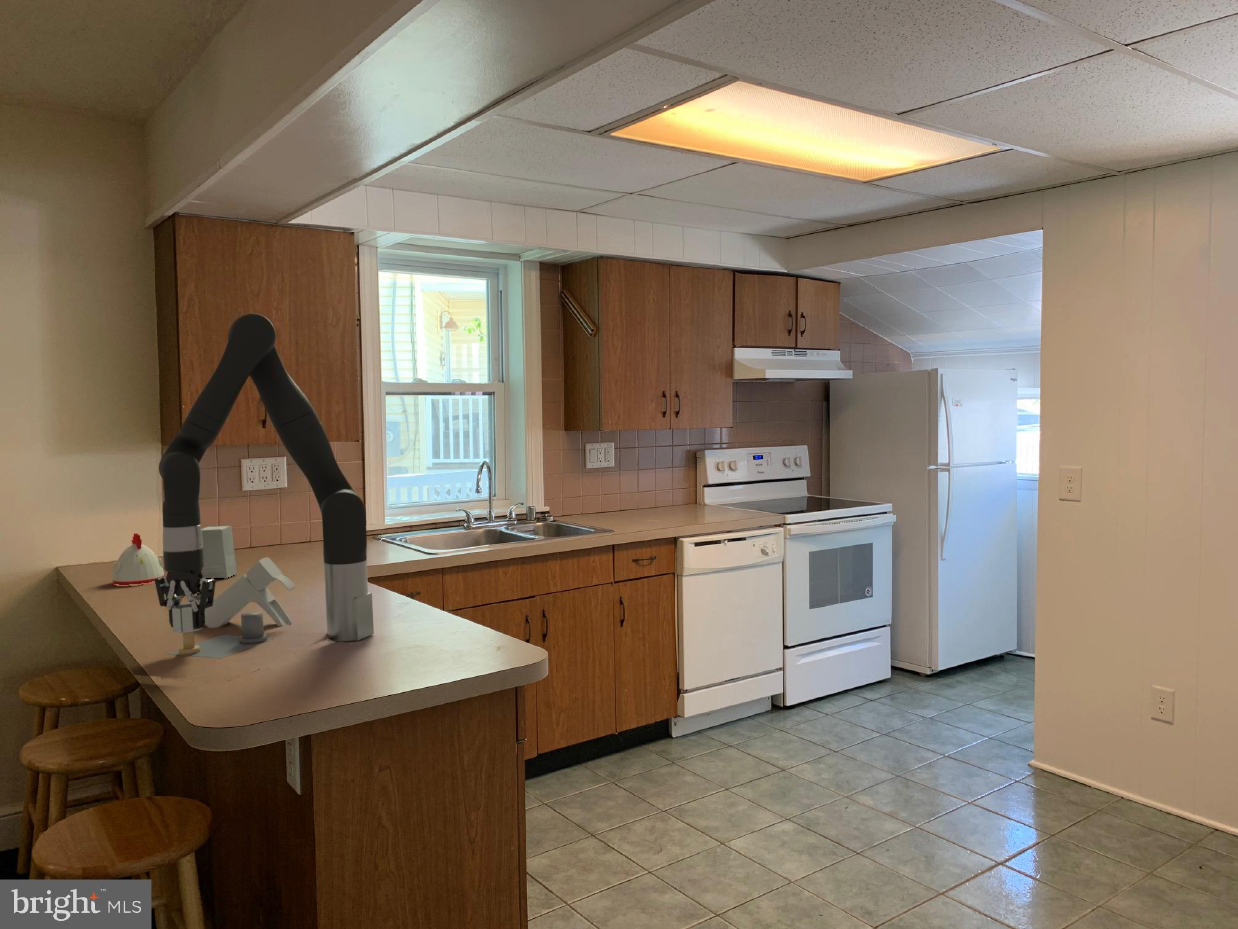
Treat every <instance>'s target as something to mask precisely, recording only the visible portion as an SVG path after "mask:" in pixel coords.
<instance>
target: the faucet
mask: <svg viewBox="0 0 1238 929" xmlns="http://www.w3.org/2000/svg"><path fill="white" fill-rule="evenodd" d="M275 580H277V581H279V582H280V583H282V585H283V586H285V587H286V589H287V591H288V592H290V591H291V590H294V589H295V588H296V586H295V584H294V583H293V581H291V580H290V578H288V577H287V576H286V575H284V574H283V572H282V570H280V568H279V567H278V566H277V565H276V564H275V562H274V561H272V560H271V559H270V558H269V556H268V557H263V558H261V559H259V560H258V561H257V562H256V563H255V564H254V565H253V566H252V567H251V568H249V570H248V571H247V572H246V573H245V574H244V575H242V576H241V577H239V579H237V580H236V581H235V582H234V583H232V584H231V585H230V586H228V587H227V588H226V589H225V590H224V591H222V592H221V593H220V594H218V595H217V596H216V597H215V598H214V600H213V606H211V607H208V608H206V609H205V625H204V626H206V627H207V628H208V629H214V628H220V627H223V626H226V625H227V624H228V623H229V622H230V621H232V619H233V618H235V616H237V615H238V614H239V613H240V612H241V611H242V610H243V609H244V608H245V607H246V606H247V605H249V603H255V604H257V605H258V606H259V607H260V608H261V609H262V610H264V611H265V612H266V614H268V616H269V617H270V619H272V620H273V622H274V623H275V625H277V627H284V626H292V624H293V623H292V620H291V618H290V617H289V615H288V613H287V612H286V611H285V609H284V608H283V606H282V605H281V604H280V602H279V601H278V600H277V598H276V597H275V596H274V595H273V593H271V591H270V590H269V589H268V588H267V587H268V586H269V585H270V584H272V583H273V582H274V581H275Z"/></svg>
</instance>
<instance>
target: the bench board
mask: <svg viewBox="0 0 1238 929" xmlns="http://www.w3.org/2000/svg"><path fill="white" fill-rule="evenodd" d="M240 619H241V620H240V623H241V635H234V634H232V635H230V634H221V635H218V636H214V637H212V638H209V639H205V640H203V641H200V642H197V643H196V642H195V639H196V638H195V631H193V632H186V633H181V634H182V647H179V648H178V649H177V650H174V651H172V652H168V653H167V655H172V656H185V657H187V656H188V657H196V658H198V657H200V658H210V659H212V658H213V659H225V658H227V657H229V656H232V655H234V654H236V653H239V652H242V651H245V650H247V649H250V648H253V647H256V646H259V645H261V644H263V643H266V642H269V641H272V640H274V639H275V638H272V637H267V636H268V634H267V633H264V632H265V630H264V613H263V612H262V611H249V612H244V613H241V614H240Z"/></svg>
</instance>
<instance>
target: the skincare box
mask: <svg viewBox="0 0 1238 929" xmlns="http://www.w3.org/2000/svg"><path fill="white" fill-rule="evenodd" d="M232 527H233V526H232V525H222V526H221V525H220V526H206V527H204V528H201V530H202V536H203V555H204V567H203V568H202V575H203V577H204V578H224V579H229V578H231V576H232V577H234V576H233V575H235V574H236V575H237V574H238V572H237V571H238V570H237V561H236V554H235V546H234V545H235V544H234V536H233V529H232ZM236 575H235V576H236ZM228 577H229V578H228Z"/></svg>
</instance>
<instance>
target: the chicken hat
mask: <svg viewBox="0 0 1238 929" xmlns="http://www.w3.org/2000/svg"><path fill="white" fill-rule="evenodd" d="M164 571H165V570H164V564H163V562H162V558H161V557H158V556H157V554H156V553H155V552H154V551H153V550H152V549H151V548H149V547H148V546H147V545H145V544H142V539H141V534H139V533H133V536H132V539H131V545H129V546H127V548H126V549H124V550H123V551H122V553H121V554H120V555H119V557H118V559H117V561H114V563H113V570H112V572H113V574H112V585H113V584H119V585H129V584H141V583H149V582H152V581H155V579H157V578H161V577H165V572H164Z"/></svg>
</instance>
